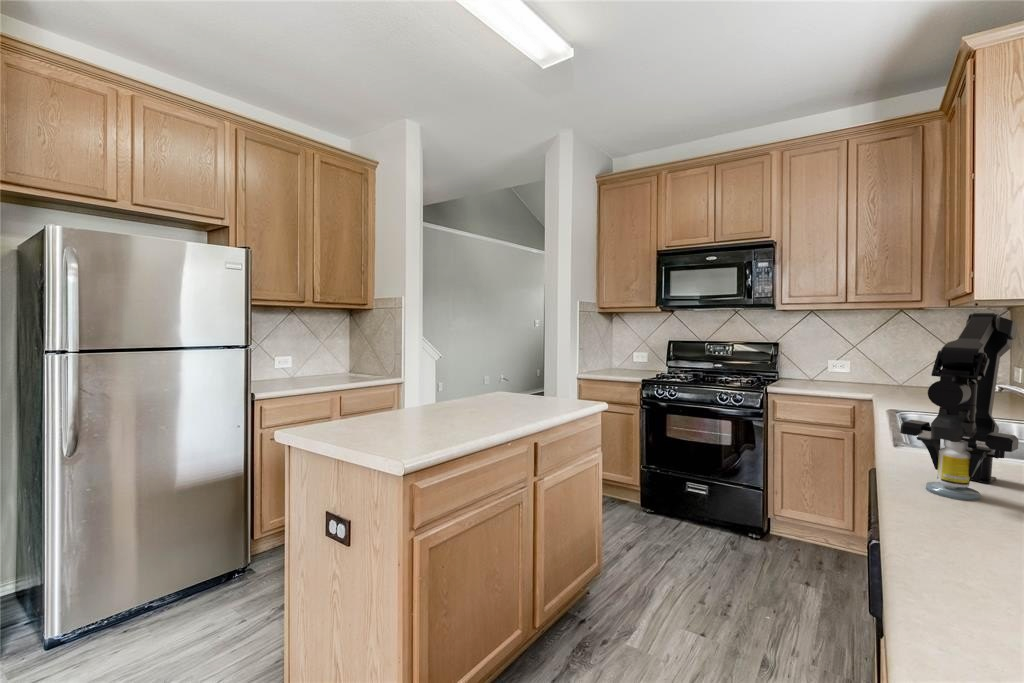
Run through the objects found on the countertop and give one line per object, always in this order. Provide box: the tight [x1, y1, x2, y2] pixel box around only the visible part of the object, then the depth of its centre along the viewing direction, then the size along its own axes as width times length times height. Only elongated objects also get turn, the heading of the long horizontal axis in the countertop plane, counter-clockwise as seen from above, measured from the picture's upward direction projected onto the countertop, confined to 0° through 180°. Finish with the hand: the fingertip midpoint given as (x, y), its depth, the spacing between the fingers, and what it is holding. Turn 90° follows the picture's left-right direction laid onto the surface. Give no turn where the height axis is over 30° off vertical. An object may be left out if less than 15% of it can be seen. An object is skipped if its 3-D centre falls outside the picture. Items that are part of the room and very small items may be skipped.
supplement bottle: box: [936, 440, 971, 488], centre depth 110 cm, size 5×5×10 cm
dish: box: [925, 481, 981, 502], centre depth 110 cm, size 9×9×1 cm
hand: (953, 472), depth 110 cm, fingers closed on supplement bottle, 5 cm apart
